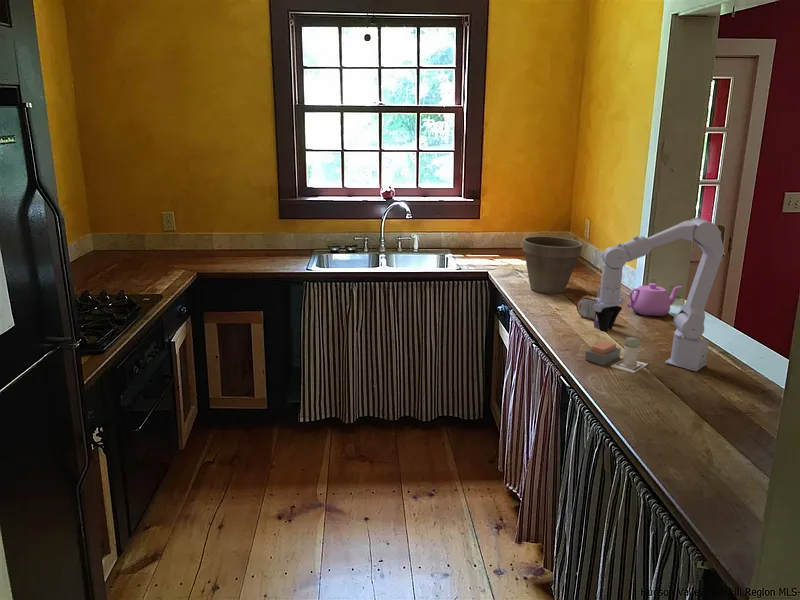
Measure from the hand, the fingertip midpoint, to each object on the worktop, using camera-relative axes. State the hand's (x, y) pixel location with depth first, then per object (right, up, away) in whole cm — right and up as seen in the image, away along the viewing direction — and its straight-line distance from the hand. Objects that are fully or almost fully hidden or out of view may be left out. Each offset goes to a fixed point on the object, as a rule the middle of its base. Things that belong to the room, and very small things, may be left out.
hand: (605, 329), depth 197 cm
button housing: (0, -9, +3) cm, 9 cm away
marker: (+6, -10, -3) cm, 12 cm away
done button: (0, -6, +2) cm, 7 cm away
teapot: (+35, +4, +53) cm, 63 cm away
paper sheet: (+6, -11, -3) cm, 13 cm away
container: (+9, -1, +34) cm, 35 cm away
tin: (+9, +2, +43) cm, 44 cm away
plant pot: (+2, +13, +84) cm, 85 cm away
